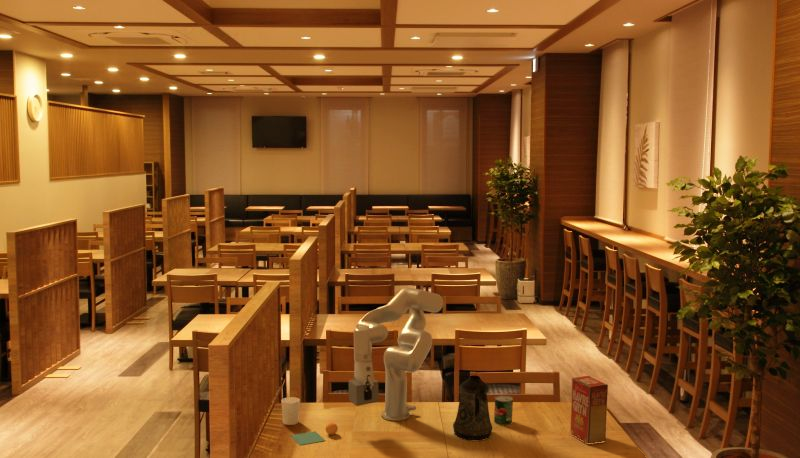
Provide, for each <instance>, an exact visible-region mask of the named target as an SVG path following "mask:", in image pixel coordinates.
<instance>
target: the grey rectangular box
mask: <svg viewBox="0 0 800 458" xmlns="http://www.w3.org/2000/svg"><path fill="white" fill-rule="evenodd" d="M367 383H368V382H366V383H365V384H367ZM368 386H369V385H366V387H368ZM364 391H365V385H363V384H361V383H360V382H359V381H357V380H356V379H354V378H353V379H348V401H350V403H352V404H353V405H355V406H356V407H359V406H365V405H368V404H373V403H374V404H375V403H379V400H380V399H379V381H378V380H377V379H375V378H374V383H373V388H372V399H371V400H366V401H365V400H364Z"/></svg>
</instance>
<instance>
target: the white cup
mask: <svg viewBox="0 0 800 458" xmlns="http://www.w3.org/2000/svg"><path fill="white" fill-rule="evenodd" d="M300 399H301V398H298V397H295V396H290V397H289V396H288V397H284V398H282V399H281V400H280V401H281V415H282V423H283V424H284V425H286V426H292V425H297V424H298V423H299V418H300V417H299V416H300V407H301V406H300V405H301V404H300V403H301V402H300V401H301V400H300Z"/></svg>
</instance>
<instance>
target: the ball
mask: <svg viewBox="0 0 800 458" xmlns="http://www.w3.org/2000/svg"><path fill="white" fill-rule="evenodd" d="M338 429H339V428H338V425H337V424H336V423H335V422H328V423H327V424H326V426H325V431H326V433H327V434H328V435H336V433H337V432H338Z"/></svg>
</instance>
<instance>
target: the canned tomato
mask: <svg viewBox="0 0 800 458" xmlns="http://www.w3.org/2000/svg"><path fill="white" fill-rule="evenodd" d="M513 401H514V398H513V397H512V396H510V395H496V396H495V397H494V414H493V418H494V419H493V422H495V423H496V424H495V423H494V424H495V425H498V424H499V425H498V426H503V425H506V426H510V425H512V424H513V409H514V408H513V406H514V405H513V404H514V402H513ZM511 423H512V424H511ZM509 424H510V425H509Z"/></svg>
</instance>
